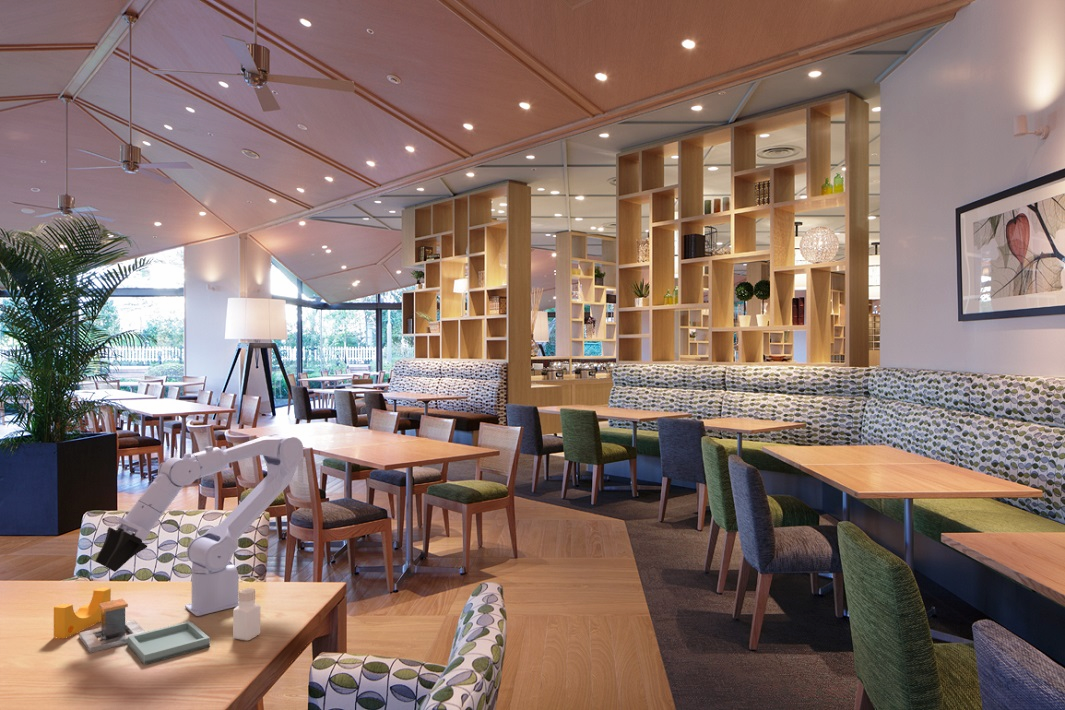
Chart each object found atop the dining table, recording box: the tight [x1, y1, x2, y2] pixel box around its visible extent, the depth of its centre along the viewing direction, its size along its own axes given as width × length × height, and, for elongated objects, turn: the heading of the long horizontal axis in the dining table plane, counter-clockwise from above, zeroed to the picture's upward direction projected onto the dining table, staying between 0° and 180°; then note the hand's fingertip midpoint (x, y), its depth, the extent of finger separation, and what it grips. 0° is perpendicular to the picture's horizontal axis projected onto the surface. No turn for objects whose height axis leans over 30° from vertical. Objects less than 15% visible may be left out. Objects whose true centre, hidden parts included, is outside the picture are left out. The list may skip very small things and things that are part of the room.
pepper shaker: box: [232, 587, 261, 641], centre depth 141 cm, size 4×4×10 cm
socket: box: [78, 619, 147, 654], centre depth 140 cm, size 10×10×1 cm
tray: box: [127, 620, 211, 665], centre depth 136 cm, size 12×12×2 cm
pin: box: [99, 598, 129, 641], centre depth 140 cm, size 4×4×7 cm
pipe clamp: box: [53, 587, 112, 639], centre depth 146 cm, size 12×4×6 cm, turn 170°
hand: (104, 566), depth 140 cm, fingers open, 7 cm apart
